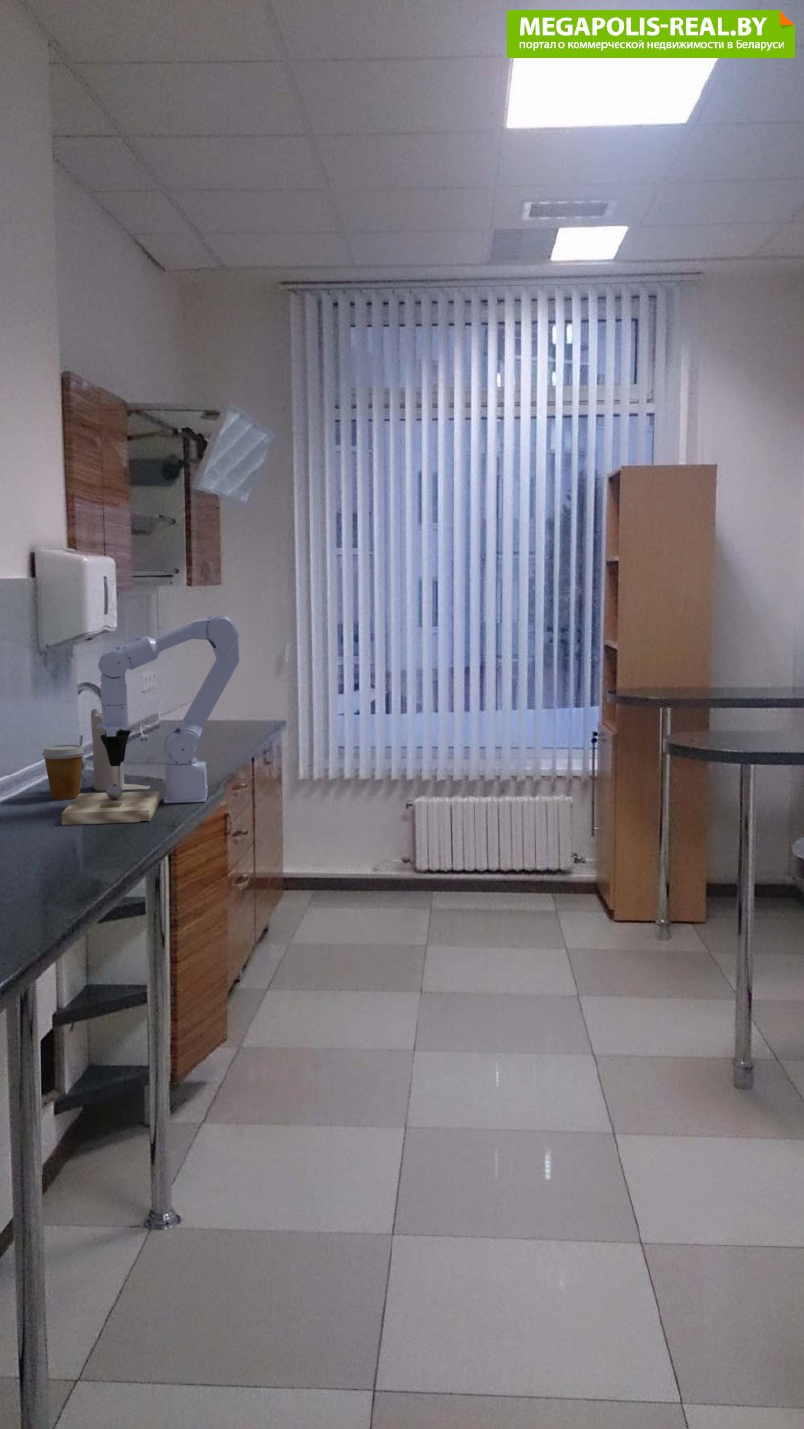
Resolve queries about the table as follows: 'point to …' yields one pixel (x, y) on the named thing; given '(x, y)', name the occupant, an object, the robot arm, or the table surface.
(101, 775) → the beige bookend
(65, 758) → the disposable coffee cup
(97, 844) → the table surface
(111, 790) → the steel ball
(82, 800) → the birch plate
